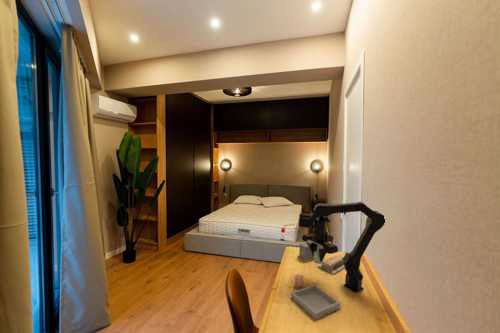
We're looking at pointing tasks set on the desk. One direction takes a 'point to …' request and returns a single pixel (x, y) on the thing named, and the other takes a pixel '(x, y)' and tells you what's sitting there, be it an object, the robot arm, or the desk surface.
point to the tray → (315, 301)
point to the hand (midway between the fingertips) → (317, 259)
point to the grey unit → (306, 252)
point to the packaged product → (332, 265)
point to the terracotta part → (299, 281)
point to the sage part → (316, 257)
